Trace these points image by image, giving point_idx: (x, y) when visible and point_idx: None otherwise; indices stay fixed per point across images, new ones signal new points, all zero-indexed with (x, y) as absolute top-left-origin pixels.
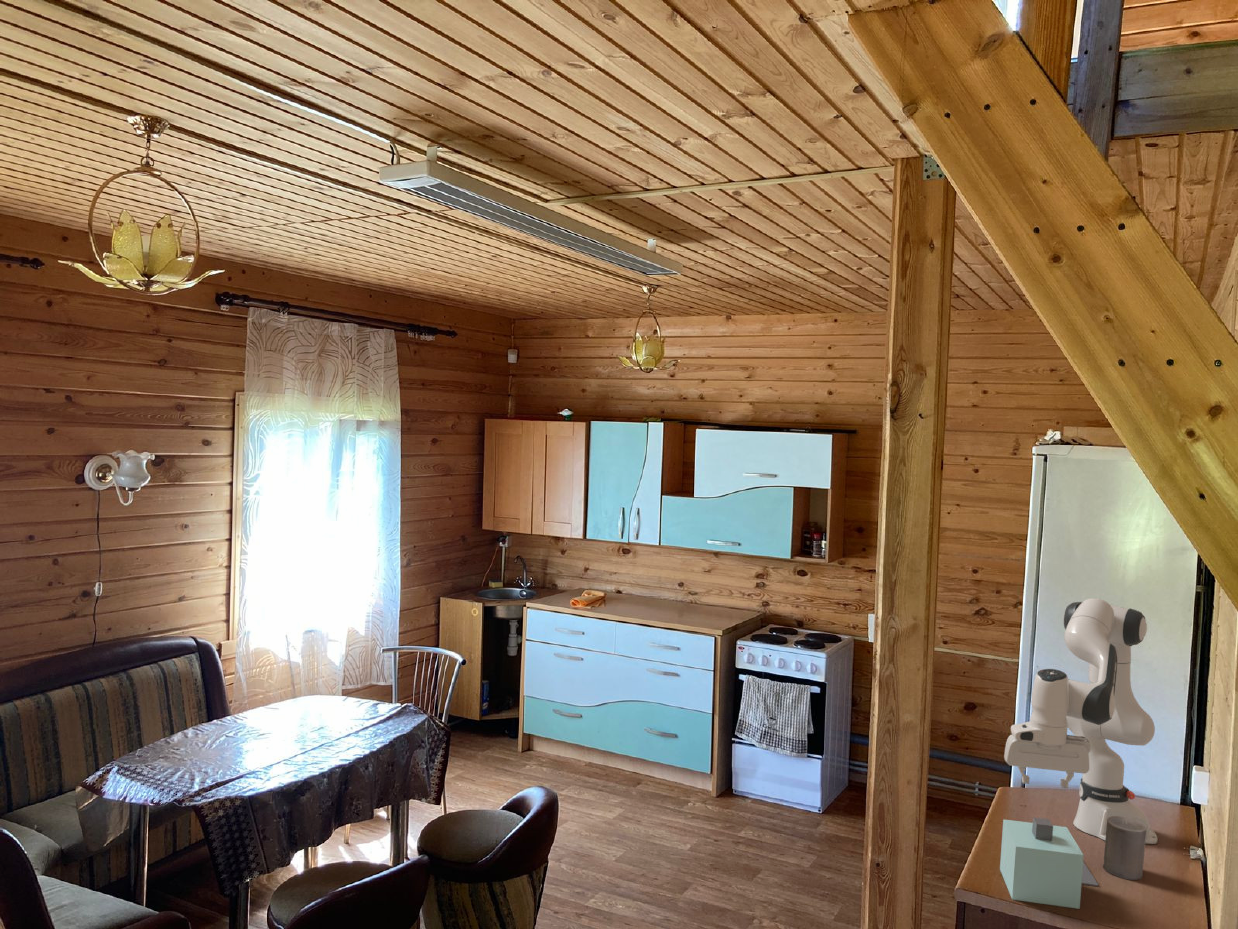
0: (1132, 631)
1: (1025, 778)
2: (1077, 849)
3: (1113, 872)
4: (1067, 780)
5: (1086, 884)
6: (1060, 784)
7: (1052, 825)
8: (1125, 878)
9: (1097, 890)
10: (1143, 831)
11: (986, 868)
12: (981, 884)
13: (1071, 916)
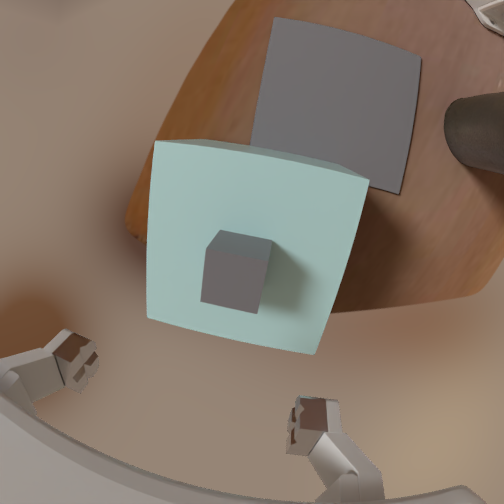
0: None
1: (64, 380)
2: (315, 329)
3: (451, 146)
4: (316, 466)
5: (377, 187)
6: (299, 398)
7: (256, 310)
8: (462, 162)
9: (387, 208)
10: None
11: (181, 132)
12: None
13: None
